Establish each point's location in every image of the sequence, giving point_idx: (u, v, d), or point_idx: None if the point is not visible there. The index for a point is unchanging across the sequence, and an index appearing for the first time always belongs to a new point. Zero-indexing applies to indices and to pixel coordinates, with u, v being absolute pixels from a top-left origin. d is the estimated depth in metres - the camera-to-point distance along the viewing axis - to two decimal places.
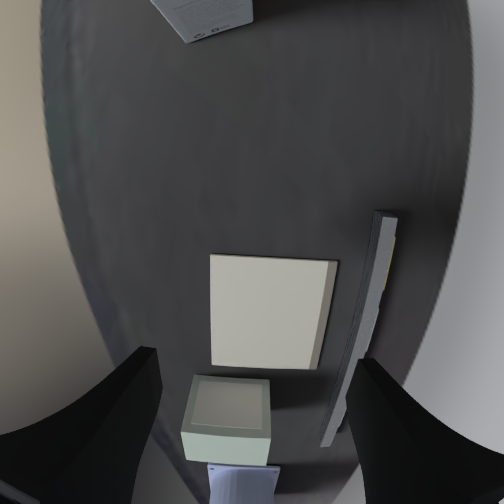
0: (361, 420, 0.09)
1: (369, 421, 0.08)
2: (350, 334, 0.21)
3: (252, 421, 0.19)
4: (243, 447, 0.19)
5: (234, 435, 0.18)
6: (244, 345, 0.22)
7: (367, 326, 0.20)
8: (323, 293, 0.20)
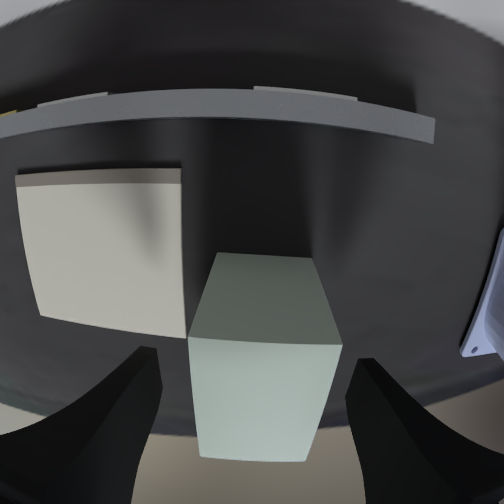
0: (361, 420, 0.09)
1: (369, 421, 0.08)
2: (103, 122, 0.11)
3: None
4: (239, 388, 0.08)
5: (194, 394, 0.09)
6: (139, 292, 0.14)
7: (58, 113, 0.10)
8: (47, 185, 0.12)
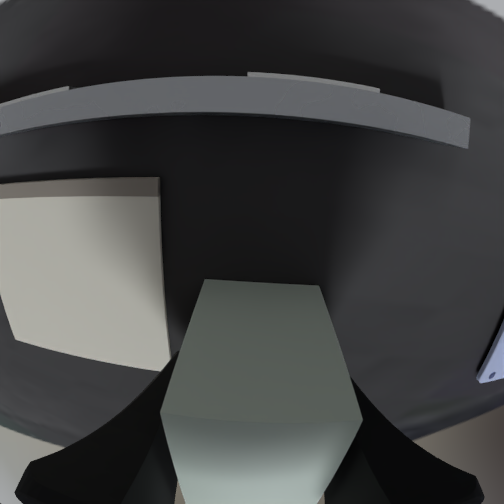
0: None
1: None
2: (68, 123, 0.09)
3: None
4: (230, 462, 0.06)
5: (175, 463, 0.06)
6: (116, 322, 0.11)
7: (15, 114, 0.07)
8: (11, 197, 0.10)
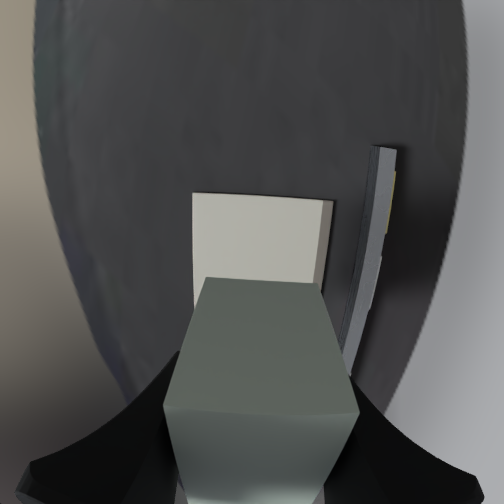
0: None
1: None
2: (350, 290, 0.19)
3: None
4: (231, 455, 0.06)
5: (177, 456, 0.07)
6: None
7: (369, 277, 0.18)
8: (318, 238, 0.18)
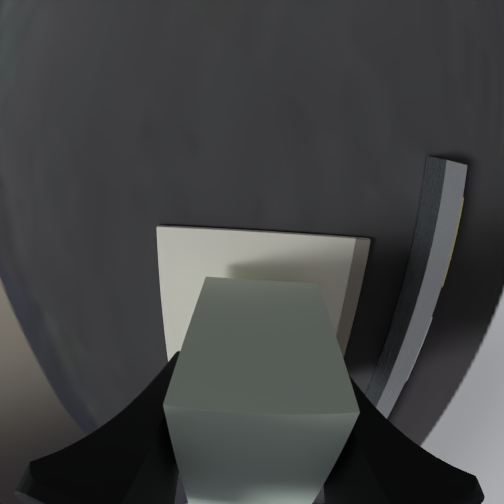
0: None
1: None
2: (383, 355, 0.13)
3: None
4: (231, 455, 0.06)
5: (177, 456, 0.07)
6: None
7: (413, 344, 0.12)
8: (346, 292, 0.12)
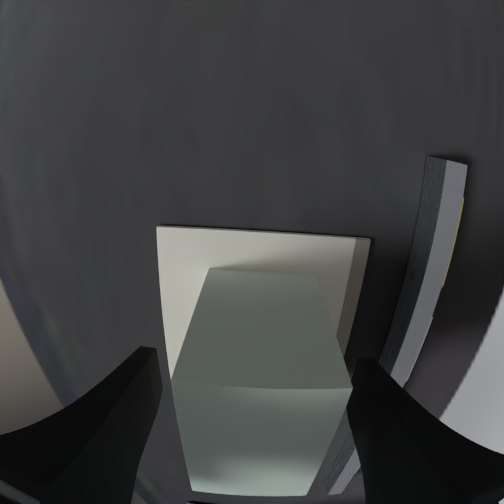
0: (361, 420, 0.09)
1: (369, 421, 0.08)
2: (383, 356, 0.13)
3: None
4: (233, 432, 0.07)
5: (182, 435, 0.07)
6: None
7: (413, 345, 0.12)
8: (346, 293, 0.12)
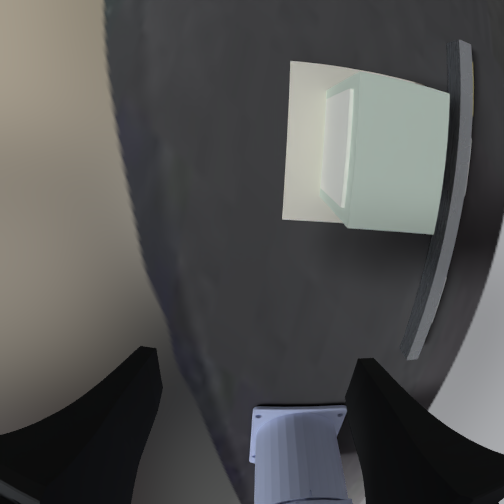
0: (361, 420, 0.09)
1: (369, 421, 0.08)
2: (443, 178, 0.16)
3: (345, 105, 0.11)
4: (392, 122, 0.10)
5: (355, 133, 0.10)
6: None
7: (464, 158, 0.15)
8: None
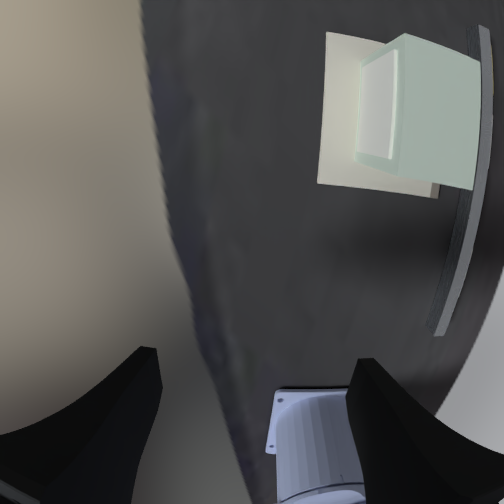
0: (361, 420, 0.09)
1: (369, 421, 0.08)
2: None
3: (388, 65, 0.11)
4: (434, 80, 0.09)
5: (402, 88, 0.10)
6: None
7: (487, 132, 0.14)
8: None
